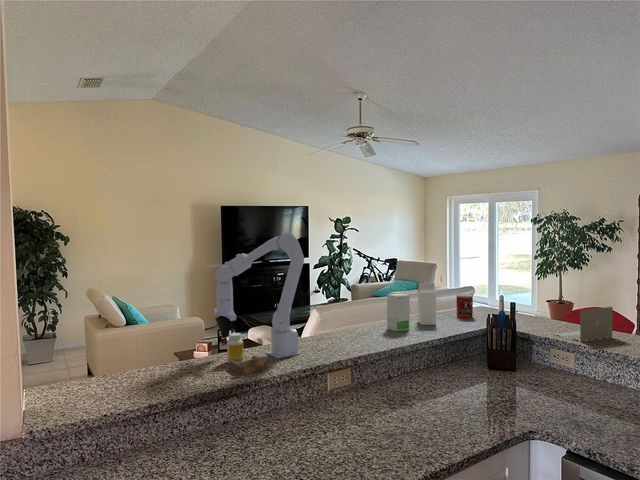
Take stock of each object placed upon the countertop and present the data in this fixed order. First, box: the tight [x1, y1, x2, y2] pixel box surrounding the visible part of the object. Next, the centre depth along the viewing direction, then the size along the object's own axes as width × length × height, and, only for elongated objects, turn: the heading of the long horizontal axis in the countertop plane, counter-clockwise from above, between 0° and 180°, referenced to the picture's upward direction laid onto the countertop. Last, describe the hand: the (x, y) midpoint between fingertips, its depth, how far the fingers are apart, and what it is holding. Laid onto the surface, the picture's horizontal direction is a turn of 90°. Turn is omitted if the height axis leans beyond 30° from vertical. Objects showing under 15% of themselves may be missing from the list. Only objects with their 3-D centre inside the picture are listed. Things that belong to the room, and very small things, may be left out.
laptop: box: [553, 306, 614, 342], centre depth 185 cm, size 18×12×13 cm
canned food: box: [456, 293, 474, 319], centre depth 225 cm, size 8×8×11 cm
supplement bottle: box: [226, 332, 244, 364], centre depth 155 cm, size 5×5×10 cm
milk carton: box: [417, 282, 437, 326], centre depth 211 cm, size 7×7×19 cm
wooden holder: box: [229, 355, 268, 376], centre depth 147 cm, size 9×8×4 cm
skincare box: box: [386, 293, 411, 332], centre depth 200 cm, size 8×7×16 cm
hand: (225, 337), depth 161 cm, fingers closed
